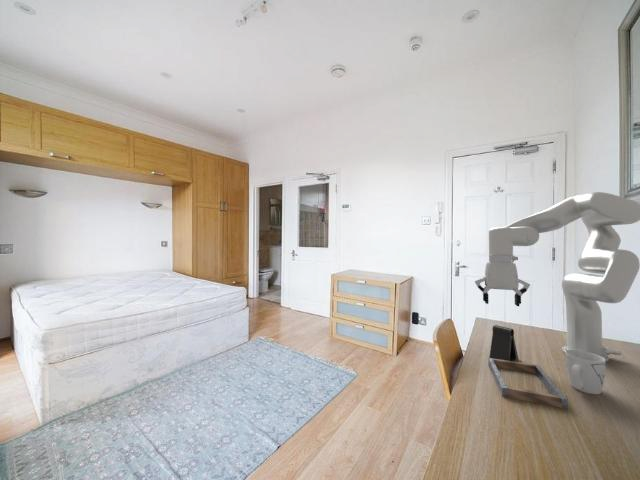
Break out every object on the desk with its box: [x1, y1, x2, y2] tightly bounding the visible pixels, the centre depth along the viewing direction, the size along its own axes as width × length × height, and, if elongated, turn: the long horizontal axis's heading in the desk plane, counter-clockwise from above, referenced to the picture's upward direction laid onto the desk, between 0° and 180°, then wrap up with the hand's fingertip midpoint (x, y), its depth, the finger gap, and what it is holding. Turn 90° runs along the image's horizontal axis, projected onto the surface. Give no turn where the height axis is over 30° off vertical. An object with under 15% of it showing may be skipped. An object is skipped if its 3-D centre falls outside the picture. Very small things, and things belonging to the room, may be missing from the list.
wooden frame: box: [487, 357, 569, 410], centre depth 79 cm, size 14×20×2 cm
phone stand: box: [488, 324, 519, 362], centre depth 96 cm, size 9×6×12 cm, turn 122°
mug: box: [564, 350, 607, 395], centre depth 75 cm, size 11×8×10 cm
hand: (501, 304), depth 96 cm, fingers open, 9 cm apart
